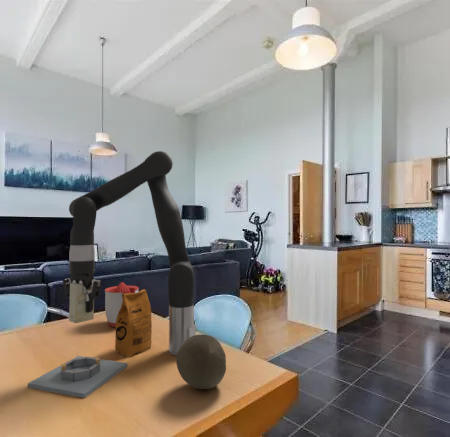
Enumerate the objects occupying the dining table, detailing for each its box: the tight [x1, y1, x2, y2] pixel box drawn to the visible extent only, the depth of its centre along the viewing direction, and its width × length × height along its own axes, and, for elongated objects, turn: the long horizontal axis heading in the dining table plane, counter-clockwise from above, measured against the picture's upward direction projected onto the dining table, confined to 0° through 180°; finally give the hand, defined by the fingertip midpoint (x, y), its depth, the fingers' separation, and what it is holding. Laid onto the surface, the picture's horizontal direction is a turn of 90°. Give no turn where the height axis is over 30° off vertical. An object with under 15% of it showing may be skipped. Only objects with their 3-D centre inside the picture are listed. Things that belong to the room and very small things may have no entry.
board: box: [27, 355, 128, 399], centre depth 99 cm, size 20×20×1 cm
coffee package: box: [114, 289, 153, 357], centre depth 120 cm, size 10×12×22 cm
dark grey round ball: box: [175, 334, 227, 390], centre depth 92 cm, size 14×14×15 cm
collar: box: [60, 356, 101, 382], centre depth 99 cm, size 11×11×3 cm
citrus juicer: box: [104, 281, 140, 328], centre depth 150 cm, size 16×17×20 cm
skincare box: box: [68, 283, 95, 324], centre depth 102 cm, size 6×4×12 cm
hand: (81, 311), depth 102 cm, fingers closed on skincare box, 5 cm apart
